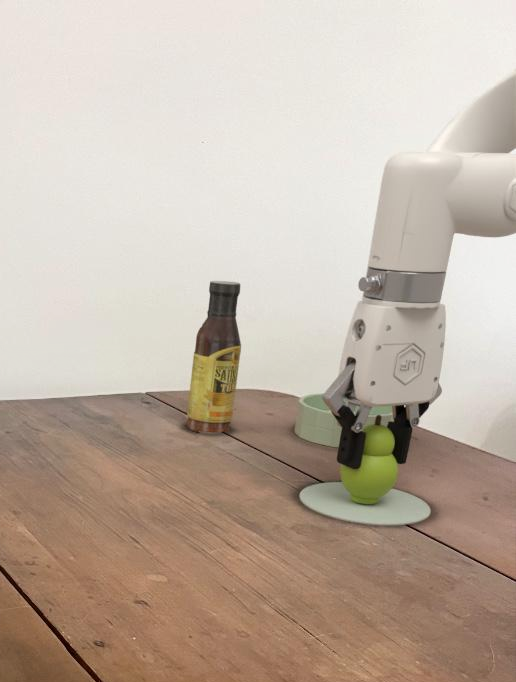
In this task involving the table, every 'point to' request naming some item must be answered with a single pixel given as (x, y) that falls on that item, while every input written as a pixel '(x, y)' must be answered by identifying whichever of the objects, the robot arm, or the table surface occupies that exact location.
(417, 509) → the mat
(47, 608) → the table surface
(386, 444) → the pear
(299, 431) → the bowl
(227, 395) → the sauce bottle
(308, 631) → the table surface
